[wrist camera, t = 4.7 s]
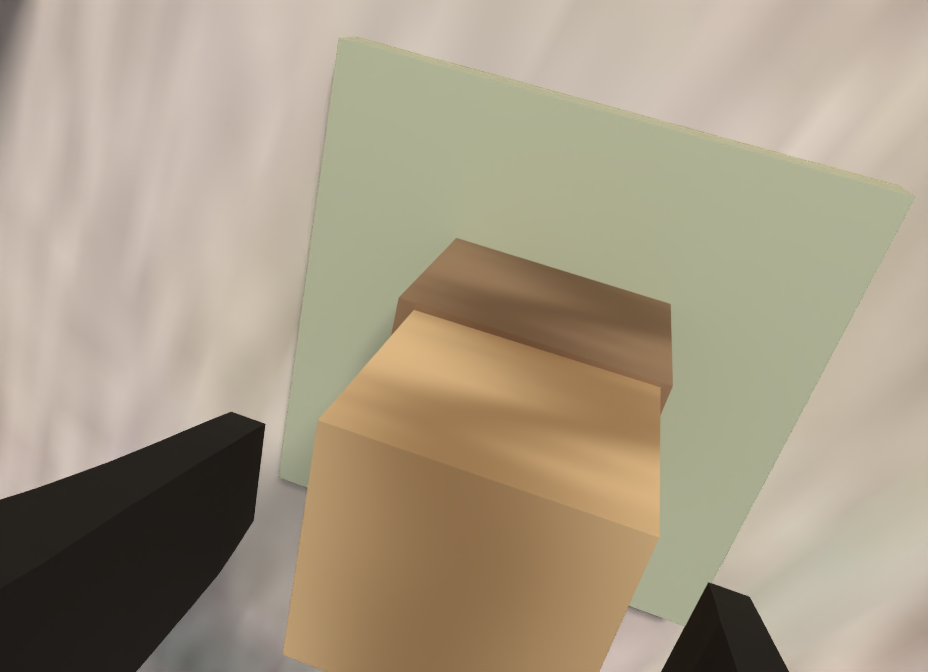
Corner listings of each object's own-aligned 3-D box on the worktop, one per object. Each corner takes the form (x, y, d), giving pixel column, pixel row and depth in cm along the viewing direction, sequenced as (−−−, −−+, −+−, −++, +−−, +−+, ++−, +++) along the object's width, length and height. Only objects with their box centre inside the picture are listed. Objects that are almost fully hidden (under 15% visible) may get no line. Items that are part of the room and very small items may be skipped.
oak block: (660, 387, 12) (659, 537, 9) (584, 577, 14) (558, 763, 11) (413, 309, 13) (317, 420, 9) (374, 503, 15) (282, 654, 11)
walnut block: (670, 303, 16) (672, 386, 12) (600, 481, 18) (584, 594, 14) (456, 238, 16) (398, 297, 13) (414, 416, 18) (355, 509, 15)
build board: (900, 186, 14) (915, 197, 14) (687, 600, 20) (687, 627, 19) (356, 36, 16) (338, 37, 15) (294, 458, 21) (278, 477, 20)
